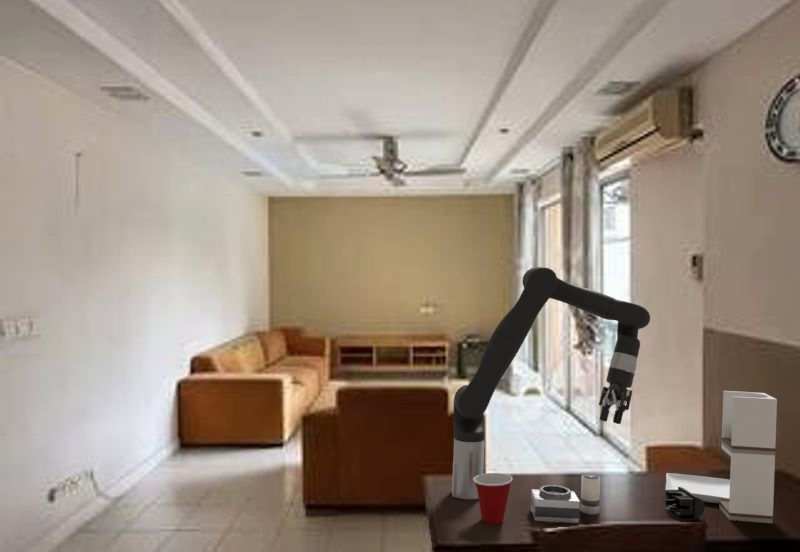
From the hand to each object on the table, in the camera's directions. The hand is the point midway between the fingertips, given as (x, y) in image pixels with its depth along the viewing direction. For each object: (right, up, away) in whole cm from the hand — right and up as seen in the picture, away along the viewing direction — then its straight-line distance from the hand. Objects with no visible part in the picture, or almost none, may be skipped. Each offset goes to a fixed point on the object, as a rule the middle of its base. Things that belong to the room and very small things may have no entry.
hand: (609, 422), depth 216 cm
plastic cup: (-38, -24, -18) cm, 48 cm away
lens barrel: (-8, -24, -7) cm, 27 cm away
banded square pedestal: (-19, -24, -13) cm, 33 cm away
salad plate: (+33, -26, +12) cm, 43 cm away
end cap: (+19, -25, -8) cm, 33 cm away
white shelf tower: (+37, -26, -7) cm, 46 cm away
